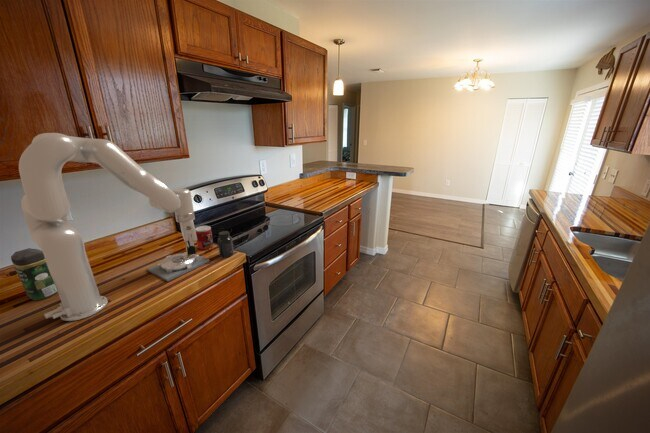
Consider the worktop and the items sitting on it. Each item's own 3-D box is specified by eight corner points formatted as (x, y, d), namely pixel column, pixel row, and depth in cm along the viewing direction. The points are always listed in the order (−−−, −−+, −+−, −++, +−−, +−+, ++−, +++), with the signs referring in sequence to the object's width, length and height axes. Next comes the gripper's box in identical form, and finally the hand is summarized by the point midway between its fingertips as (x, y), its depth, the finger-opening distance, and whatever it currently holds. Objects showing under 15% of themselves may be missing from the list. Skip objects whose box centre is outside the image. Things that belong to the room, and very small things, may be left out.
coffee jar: (24, 296, 100) (4, 252, 94) (51, 286, 107) (35, 244, 101) (35, 303, 96) (15, 258, 90) (63, 292, 103) (46, 249, 97)
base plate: (167, 281, 109) (166, 278, 109) (146, 270, 118) (146, 267, 117) (209, 261, 125) (209, 258, 125) (189, 253, 134) (188, 250, 133)
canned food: (204, 251, 136) (201, 231, 132) (194, 248, 139) (191, 229, 136) (216, 246, 142) (214, 227, 138) (207, 243, 146) (204, 224, 142)
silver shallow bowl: (173, 275, 111) (170, 262, 109) (152, 266, 119) (149, 253, 117) (204, 261, 124) (202, 248, 122) (183, 253, 131) (180, 241, 129)
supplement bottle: (216, 256, 131) (213, 233, 127) (227, 250, 136) (224, 229, 133) (226, 259, 128) (223, 236, 124) (236, 253, 133) (234, 231, 130)
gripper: (197, 219, 113) (203, 257, 119) (191, 211, 125) (197, 246, 131) (178, 222, 109) (185, 262, 115) (173, 214, 121) (180, 250, 127)
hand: (191, 253), depth 123 cm, fingers closed
